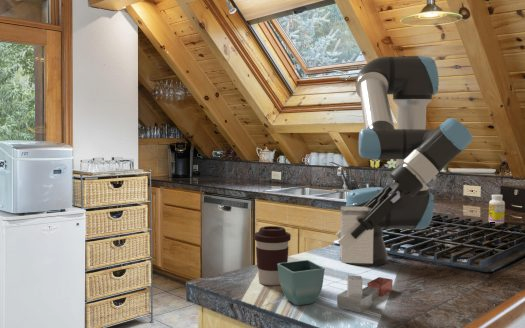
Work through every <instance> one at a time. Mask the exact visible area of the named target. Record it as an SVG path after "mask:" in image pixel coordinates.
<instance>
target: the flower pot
mask: <svg viewBox="0 0 525 328" xmlns="http://www.w3.org/2000/svg"><path fill="white" fill-rule="evenodd" d="M277 265H278V274H279V281H280V285H279V286H280V288H281V290H282V293H283V295H284V296H285V298H286V301H287V300H288V301H289V302H290V303H292V304H293V305H294V306H301V305H308V304H314V303H315V302H316V300H317V299H318V298H319V296H320V295H321V292H322V290H323V284H324V277H325V270H326V269H325V267H323V266H321V265H319V264H317V263H314V262H313V261H311V260H308V259H304V260H296V261H287V262H286V263H278V264H277Z"/></svg>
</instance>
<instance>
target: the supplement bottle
mask: <svg viewBox="0 0 525 328" xmlns="http://www.w3.org/2000/svg"><path fill="white" fill-rule="evenodd" d="M503 197H504V196H503V194H491V200H489V202H488V222H489V223H490V222H495V223H494V224H495V225H496V224H499V225H501V224H502V225H503V224H504V223H505V211H506V202H505V201H504V200H503Z"/></svg>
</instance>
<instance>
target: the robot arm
mask: <svg viewBox="0 0 525 328" xmlns="http://www.w3.org/2000/svg"><path fill="white" fill-rule="evenodd" d="M355 78H356V79H355V84H354V85H355V91H356V94H357V95H358V97H359V98H360V104H361V111H362V119H363V127H364V128H363V129H361V130H359V132H358V154H359V157H361V158H362V159H368V160H371V159H372V160H373V161H375V160H396V161H395V163H396V164H395V168H394V169H393V170H391V172H390V173H389V176H390V178H391V179H392V180H393V181H394V182H391V184H390V185H388V184H386V185H385V186H383V187H381V186H380V187H379V186H378V187H376V186H375V187H374V186H373V187H372V186H371V187H362V188H357V189H352V190H350V191H349V192H348V193H347V195H346V202H345V203H346V204H345V206H352V207H371V208H372V209H371V210H370V212H369V213H368V214H367V215H366V216H365V217H364V218H363V219H362V220H361V219H358V220H357V221H358V222H357V223H356V224H355V225H354V226H353V227H352V228H351V229H350V230H349V231H348V232H347V233H346V234H345V235H344V236H343V237H341V238H340V230H339V231H338V232H337V233H335V236H336V237H337V238H338V240H337V242H338V244H339V246H340V245H341V246H342V247H343V248H344V249H345V250H347V249H348V248H349V247H350V246H351V245H352V244H353V243H355V242H356V241H357V240H358V239H359V238H360V237H361V236H362V235H363V234H364V233H365V232H366V231H367V230H369V229H370V230H372V229H373V228H374V229H373V263H348V264H349V265H353V266H354V265H355V266H364V267H366V266H367V267H368V266H369V267H372V266H382V265H385V264H387V263H388V257H389V255H388V252H387V249H386V244H385V242H384V237H383V233H384V232H383V230H386V229H388V230H389V229H390V230H391V229H392V230H394V229H396V230H411V231H414V230H425V229H427V228H428V227H429V226H430V224H431V223H432V222H431V221H432V219H433V215H434V208H435V203H434V202H435V201H434V200H435V198H434V195H433V193H431V192H429V187H428V186H427V184H428V183H430V182H431V180H433V181H434V180H437V175H438V174H439V173H441V171H442V170H443V169H444V168H445V167H446V166H448V165H449V164H450V163H451V162H452V161H453V160H454V159H455V158H456V157H457V156H458V155H460V154H461V153H462V152H463V151H465V150H466V148H467V147H468V146H469V145H470V144H471V143H472V141H473V138H474V137H473V134H472V133H471V131H470V130H469V129H468V127H466V126H465V125H464V124H463V122H461V121H459V120H458V119H456V118H454V117H448V118H447V119H446V120H445V121H444V122H442V123H440V124H439V126H438V127H437V128H436V129H435V128H434V129H429V128H428V129H426V127H427V126H426V125H427V124H426V123H427V122H426V121H427V106H428V105H429V104H430V103H431V102H432V101H433V96H435V95H436V94H437V93H438V92H439V83H440V82H439V79H440V78H439V71H438V67H437V64H436V61H435V59H434V58H432V57H431V56H425V55H424V56H421V55H415V56H413V55H412V56H411V55H408V56H407V55H406V56H381V57H377V58H374V59H372V60H370V61H369V62H367V63H366V64H365V65H364V66H363V67H361V69H360V70H359V72H358V73H357V76H356V77H355ZM388 95H392V100H393V103H394V104H396V105H397V120H396V121H397V123H396V124H397V125H396V128H395V125H394V120H393V115H392V112H391V107H390V102H389V98H388V97H389V96H388ZM339 260H340V261H341V258H340V257H339Z"/></svg>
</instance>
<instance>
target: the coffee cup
mask: <svg viewBox="0 0 525 328" xmlns="http://www.w3.org/2000/svg"><path fill="white" fill-rule="evenodd" d="M291 235H292V234H291V233H290V232H287V231H286V228H285V227H282V226H277V225H275V226H274V225H270V226H269V225H267V226H262V227H260V228H259V230H258V231H257V232H254V235H253V238H254V241H256V246H255V253H256V254H255V255H256V267H257V271H258V272H257V273H258V282H259V283H260V284H262V285H264V286H281V285H280V281H279V274H278V265H277V264H278V263H286V262H289V261H288V260H289V259H288V258H289V242H290V241H291V238H292V237H291Z"/></svg>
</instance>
